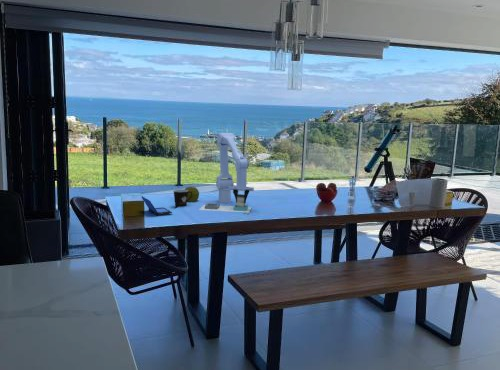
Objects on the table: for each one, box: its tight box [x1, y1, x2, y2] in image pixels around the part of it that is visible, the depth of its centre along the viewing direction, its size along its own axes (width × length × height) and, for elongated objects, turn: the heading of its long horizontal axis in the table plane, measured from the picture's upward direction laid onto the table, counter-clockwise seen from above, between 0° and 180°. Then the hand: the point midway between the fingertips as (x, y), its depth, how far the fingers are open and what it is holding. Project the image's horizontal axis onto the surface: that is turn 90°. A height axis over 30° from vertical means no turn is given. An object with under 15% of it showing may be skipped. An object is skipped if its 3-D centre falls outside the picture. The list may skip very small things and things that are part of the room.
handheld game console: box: [141, 195, 173, 217], centre depth 260 cm, size 16×13×9 cm
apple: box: [184, 186, 200, 203], centre depth 290 cm, size 10×10×11 cm
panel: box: [198, 202, 253, 215], centre depth 272 cm, size 14×29×3 cm, turn 83°
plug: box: [236, 193, 246, 207], centre depth 270 cm, size 4×4×7 cm
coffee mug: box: [173, 188, 192, 209], centre depth 276 cm, size 12×9×10 cm
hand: (240, 202), depth 270 cm, fingers closed on plug, 4 cm apart
